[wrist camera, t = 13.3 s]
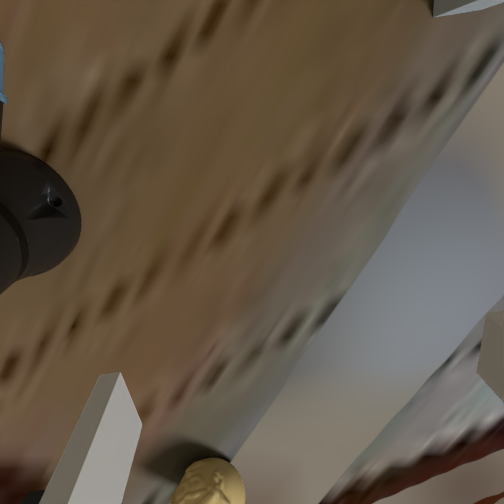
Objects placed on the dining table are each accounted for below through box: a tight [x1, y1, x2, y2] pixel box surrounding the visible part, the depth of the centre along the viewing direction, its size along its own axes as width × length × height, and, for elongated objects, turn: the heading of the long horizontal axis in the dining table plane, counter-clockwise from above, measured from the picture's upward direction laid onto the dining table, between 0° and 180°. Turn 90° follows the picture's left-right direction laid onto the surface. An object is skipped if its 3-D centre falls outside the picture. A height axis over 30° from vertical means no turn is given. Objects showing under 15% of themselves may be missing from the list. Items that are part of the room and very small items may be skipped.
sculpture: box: [170, 458, 245, 504], centre depth 58 cm, size 12×12×11 cm
